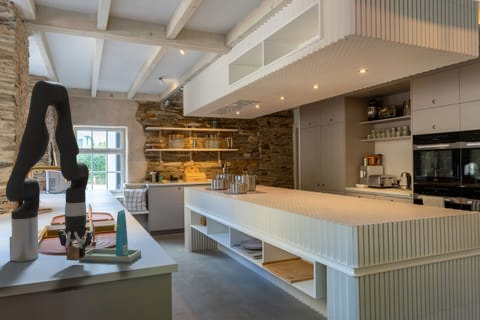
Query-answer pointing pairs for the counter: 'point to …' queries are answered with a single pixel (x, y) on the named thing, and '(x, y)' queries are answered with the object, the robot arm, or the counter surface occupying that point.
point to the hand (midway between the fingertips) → (75, 256)
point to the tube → (121, 235)
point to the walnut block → (73, 252)
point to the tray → (110, 256)
